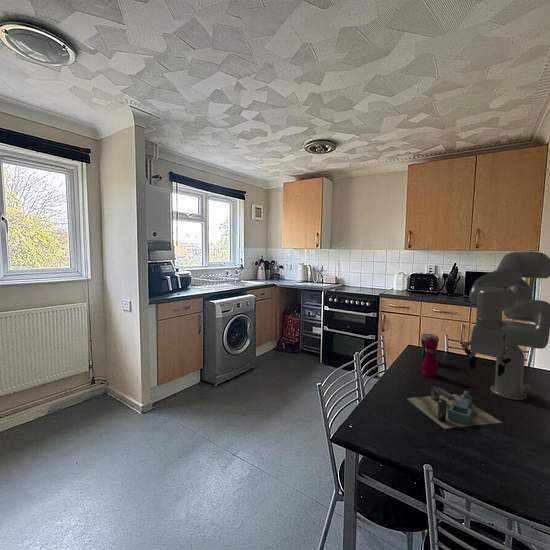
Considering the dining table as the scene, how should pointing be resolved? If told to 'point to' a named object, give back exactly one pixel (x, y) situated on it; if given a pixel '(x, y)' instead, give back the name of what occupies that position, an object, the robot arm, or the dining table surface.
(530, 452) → the dining table surface
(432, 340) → the pepper mill
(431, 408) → the board
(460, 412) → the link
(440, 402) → the pin
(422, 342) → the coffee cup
